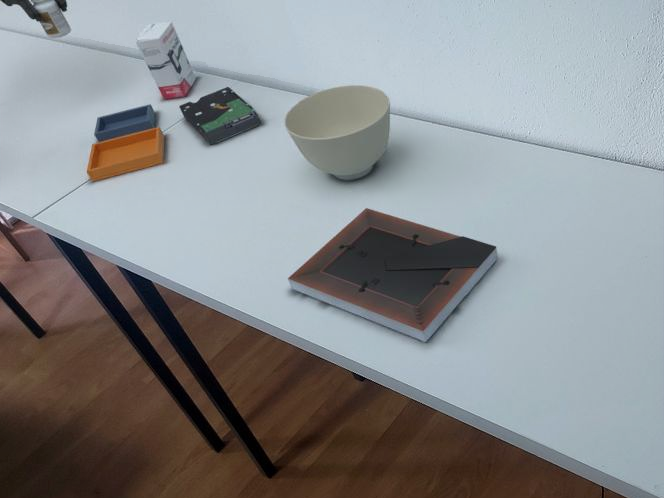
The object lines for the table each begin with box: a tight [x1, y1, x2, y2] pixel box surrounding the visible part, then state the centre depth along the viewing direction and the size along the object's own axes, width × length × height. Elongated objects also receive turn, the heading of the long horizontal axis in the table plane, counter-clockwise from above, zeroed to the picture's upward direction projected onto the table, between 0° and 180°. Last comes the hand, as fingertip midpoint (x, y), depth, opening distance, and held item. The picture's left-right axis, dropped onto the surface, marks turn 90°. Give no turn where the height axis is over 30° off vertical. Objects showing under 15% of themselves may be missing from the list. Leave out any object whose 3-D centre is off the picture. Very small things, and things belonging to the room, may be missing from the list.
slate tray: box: [93, 103, 156, 143], centre depth 122 cm, size 10×7×2 cm
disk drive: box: [179, 86, 262, 145], centre depth 119 cm, size 10×3×15 cm
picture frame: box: [287, 207, 498, 343], centre depth 82 cm, size 16×2×22 cm
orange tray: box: [86, 126, 165, 182], centre depth 114 cm, size 12×10×2 cm
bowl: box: [283, 84, 391, 181], centre depth 99 cm, size 16×16×10 cm
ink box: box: [135, 21, 197, 100], centre depth 128 cm, size 8×5×12 cm, turn 1°
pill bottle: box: [30, 0, 72, 39], centre depth 120 cm, size 4×4×8 cm
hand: (51, 13), depth 119 cm, fingers closed on pill bottle, 4 cm apart
